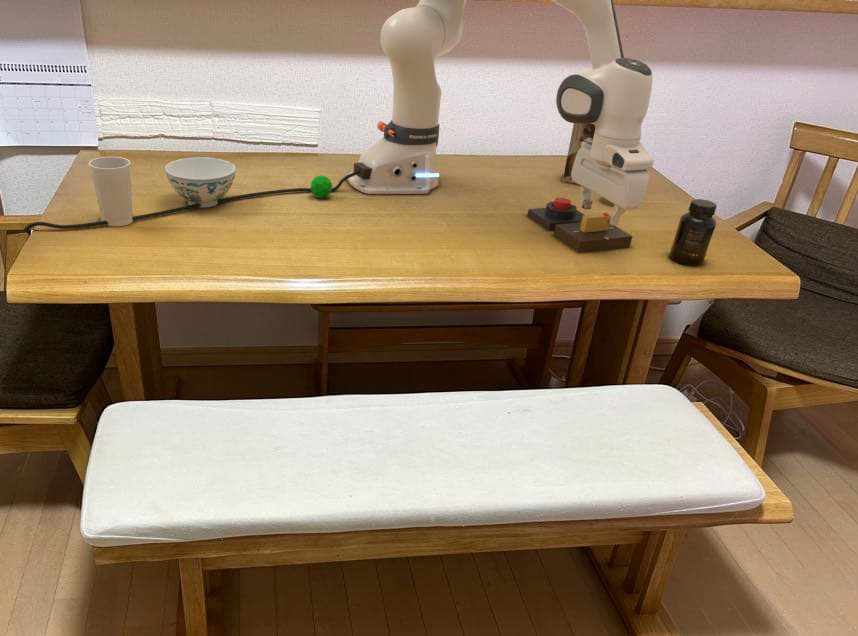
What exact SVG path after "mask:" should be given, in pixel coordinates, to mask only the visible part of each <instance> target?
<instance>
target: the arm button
mask: <svg viewBox="0 0 858 636" xmlns="http://www.w3.org/2000/svg"><path fill="white" fill-rule="evenodd" d="M553 202H554V205H553V207H554V208H557V209H562V210H569V209H570V204H572V201H571V200H570V199H569V198H565V197H556V198H554V201H553Z"/></svg>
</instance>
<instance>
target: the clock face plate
mask: <svg viewBox="0 0 858 636" xmlns="http://www.w3.org/2000/svg"><path fill="white" fill-rule="evenodd" d="M581 223H582V221H579V223H569V224H558V225H555V230H553V237H554V238H556V239H557V240H559V241H560V242H562V243H563V244H564V245H566V246H567V247H569V248H570V249H571V250H573V251H575V252H576V253H578V254H581V253H588V252H589V253H590V252H598V251H608V250H617V249H618V250H619V249H625V248H627V249H628V248H630V247H631V243H632V240H633V235H631V234H630V233H628V232H626V231H625V230H623V229H622V228H620V227H618V225H611V224H609V227H608V230H606V231H596V232H586V233H584V232H582V231H581V230H580V227H581Z"/></svg>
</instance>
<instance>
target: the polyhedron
mask: <svg viewBox="0 0 858 636" xmlns="http://www.w3.org/2000/svg"><path fill="white" fill-rule="evenodd" d="M310 188H311V191H312V192H311V194H313V196H315V197H317V198H319V199H326V198H327V197H329V196H330V195H331V193H332V192H331V190H332V188H333V183H332V181H331V179H330V178H328V177H327V176H325V175H316V176H315V177H314V178H313V179H312V180H311V184H310Z"/></svg>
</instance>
